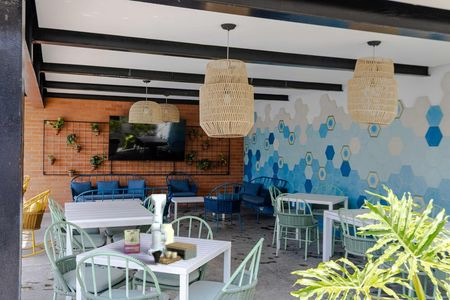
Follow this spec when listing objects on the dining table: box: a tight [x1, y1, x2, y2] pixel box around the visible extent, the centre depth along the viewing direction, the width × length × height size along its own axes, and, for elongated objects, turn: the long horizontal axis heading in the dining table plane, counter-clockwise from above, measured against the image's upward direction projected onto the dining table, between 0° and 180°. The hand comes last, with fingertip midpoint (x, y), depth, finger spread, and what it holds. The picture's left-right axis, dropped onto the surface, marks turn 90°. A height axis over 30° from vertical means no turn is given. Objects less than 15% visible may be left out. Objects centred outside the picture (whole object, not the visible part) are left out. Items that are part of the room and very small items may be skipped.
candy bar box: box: [123, 228, 141, 255], centre depth 301 cm, size 11×5×16 cm, turn 101°
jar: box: [162, 223, 175, 245], centre depth 331 cm, size 12×10×15 cm
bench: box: [165, 241, 198, 261], centre depth 289 cm, size 18×12×8 cm, turn 58°
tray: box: [158, 251, 181, 266], centre depth 277 cm, size 10×14×5 cm
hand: (156, 262), depth 268 cm, fingers closed
